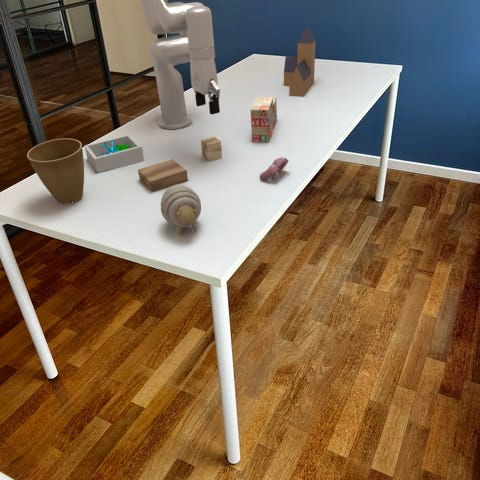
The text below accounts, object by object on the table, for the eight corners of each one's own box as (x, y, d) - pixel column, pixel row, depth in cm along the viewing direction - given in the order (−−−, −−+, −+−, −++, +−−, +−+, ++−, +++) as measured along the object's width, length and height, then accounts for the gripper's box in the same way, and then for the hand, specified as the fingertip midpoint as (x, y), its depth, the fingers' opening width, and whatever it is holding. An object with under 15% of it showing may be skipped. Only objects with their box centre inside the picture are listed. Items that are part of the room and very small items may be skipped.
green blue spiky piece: (108, 162, 159) (100, 140, 159) (98, 170, 163) (89, 149, 163) (137, 159, 168) (129, 138, 168) (126, 166, 172) (118, 146, 172)
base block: (139, 181, 152) (137, 169, 150) (174, 170, 157) (172, 159, 155) (152, 193, 145) (150, 181, 143) (188, 181, 150) (186, 170, 148)
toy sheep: (173, 246, 121) (167, 208, 115) (155, 215, 134) (148, 179, 128) (213, 234, 125) (209, 197, 118) (191, 205, 137) (186, 170, 131)
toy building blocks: (314, 83, 221) (315, 24, 207) (303, 97, 207) (304, 35, 193) (287, 82, 225) (287, 24, 211) (275, 95, 211) (274, 34, 197)
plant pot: (56, 186, 152) (41, 138, 143) (101, 186, 150) (89, 138, 141) (34, 211, 140) (16, 160, 130) (84, 211, 138) (69, 160, 129)
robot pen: (87, 159, 167) (84, 145, 164) (131, 147, 173) (129, 134, 170) (97, 173, 158) (94, 159, 155) (144, 160, 164) (141, 146, 161)
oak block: (202, 156, 164) (200, 140, 160) (215, 152, 166) (213, 136, 162) (208, 161, 160) (207, 145, 157) (222, 157, 162) (220, 141, 158)
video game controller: (269, 187, 146) (278, 171, 141) (257, 179, 147) (265, 162, 142) (284, 174, 153) (293, 157, 148) (272, 165, 154) (281, 149, 149)
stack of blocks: (261, 120, 188) (260, 88, 181) (277, 120, 187) (276, 88, 180) (251, 142, 171) (250, 108, 164) (269, 143, 170) (268, 109, 163)
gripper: (178, 50, 148) (185, 104, 158) (203, 60, 136) (209, 119, 145) (200, 45, 151) (206, 99, 161) (226, 55, 138) (231, 114, 148)
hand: (207, 109), depth 153 cm, fingers open, 9 cm apart
